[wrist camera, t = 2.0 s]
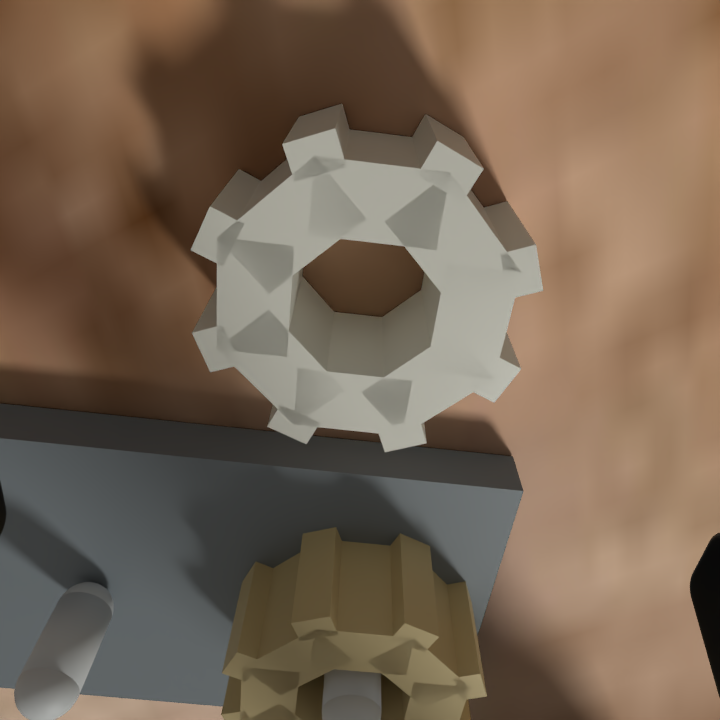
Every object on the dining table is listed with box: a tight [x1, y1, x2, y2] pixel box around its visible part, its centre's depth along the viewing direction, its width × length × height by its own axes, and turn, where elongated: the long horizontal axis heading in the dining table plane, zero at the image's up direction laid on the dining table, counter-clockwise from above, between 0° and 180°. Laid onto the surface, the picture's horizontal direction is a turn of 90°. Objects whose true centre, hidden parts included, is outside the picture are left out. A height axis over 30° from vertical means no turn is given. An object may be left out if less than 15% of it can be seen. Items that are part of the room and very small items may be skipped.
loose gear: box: [191, 104, 543, 452], centre depth 14 cm, size 7×7×3 cm
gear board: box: [0, 404, 523, 720], centre depth 18 cm, size 16×11×6 cm
